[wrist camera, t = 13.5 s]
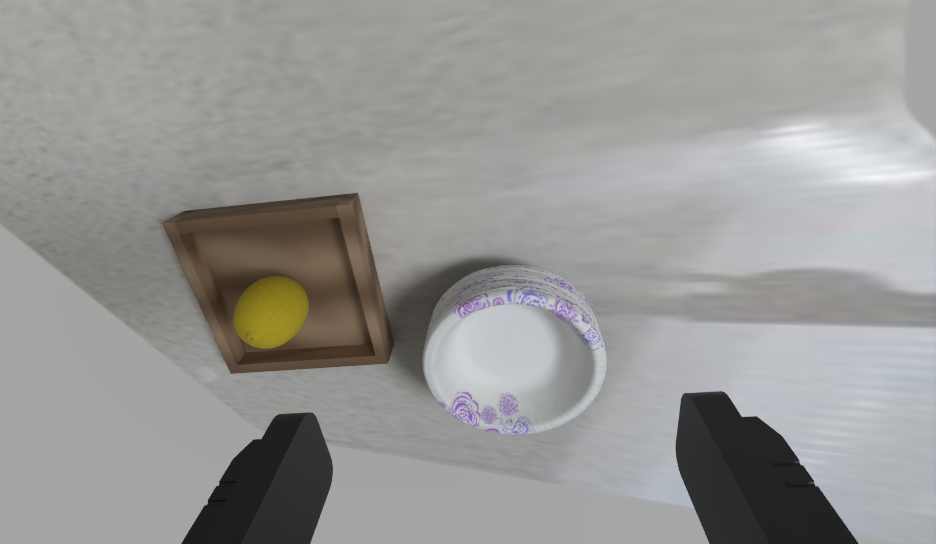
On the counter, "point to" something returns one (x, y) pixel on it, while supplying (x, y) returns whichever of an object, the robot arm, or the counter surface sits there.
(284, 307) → the lemon
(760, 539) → the robot arm
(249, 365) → the walnut tray
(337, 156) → the counter surface
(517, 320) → the paper bowls
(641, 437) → the counter surface
